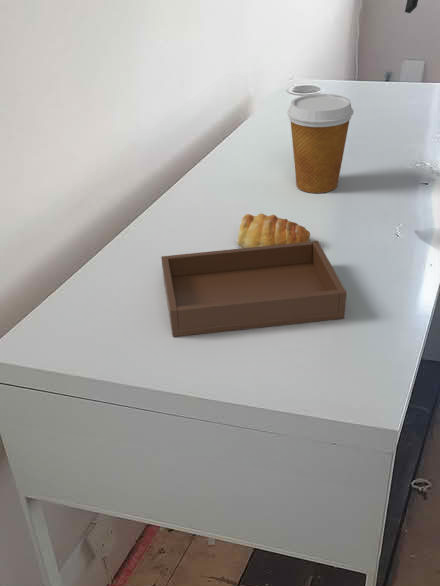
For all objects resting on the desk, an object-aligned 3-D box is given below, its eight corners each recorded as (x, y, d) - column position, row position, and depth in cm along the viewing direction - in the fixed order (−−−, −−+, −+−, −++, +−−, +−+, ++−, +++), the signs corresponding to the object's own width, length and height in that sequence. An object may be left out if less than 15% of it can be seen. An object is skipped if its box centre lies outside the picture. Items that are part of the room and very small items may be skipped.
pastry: (312, 237, 97) (314, 209, 95) (304, 259, 93) (305, 231, 90) (245, 233, 99) (244, 205, 97) (234, 254, 95) (233, 226, 92)
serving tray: (316, 265, 91) (317, 240, 89) (344, 318, 81) (346, 292, 79) (163, 280, 90) (161, 256, 88) (172, 337, 80) (170, 310, 78)
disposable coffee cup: (357, 192, 109) (364, 107, 101) (297, 201, 107) (299, 115, 99) (334, 171, 115) (339, 89, 108) (278, 179, 114) (279, 97, 106)
